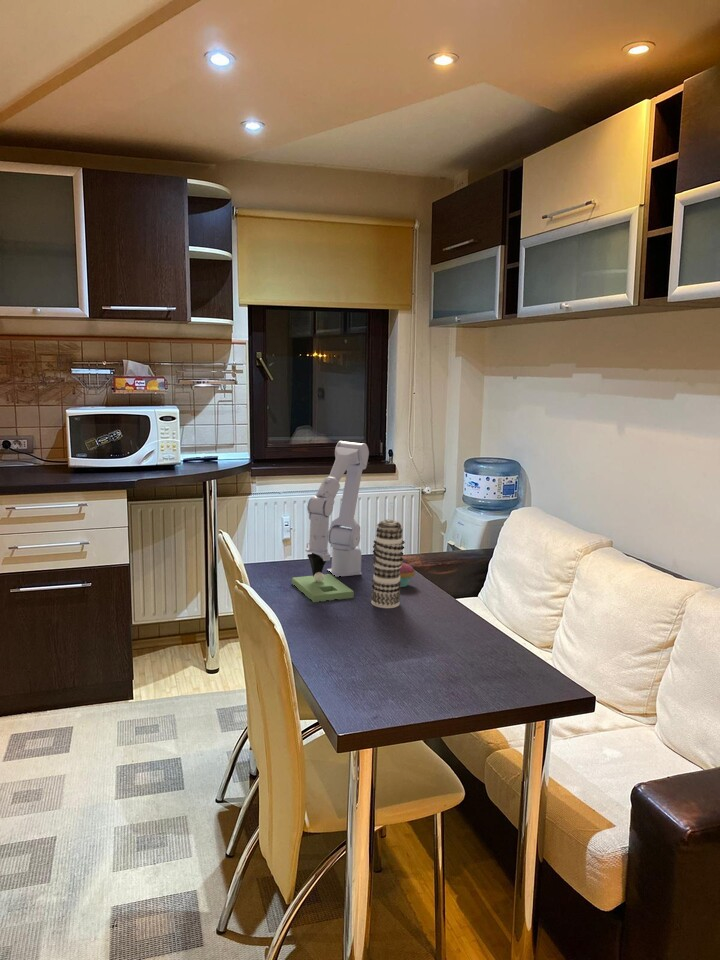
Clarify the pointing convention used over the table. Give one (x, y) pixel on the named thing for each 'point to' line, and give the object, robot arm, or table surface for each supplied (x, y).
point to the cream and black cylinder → (387, 564)
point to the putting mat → (322, 588)
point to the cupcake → (405, 574)
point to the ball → (318, 577)
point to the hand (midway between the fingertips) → (316, 577)
